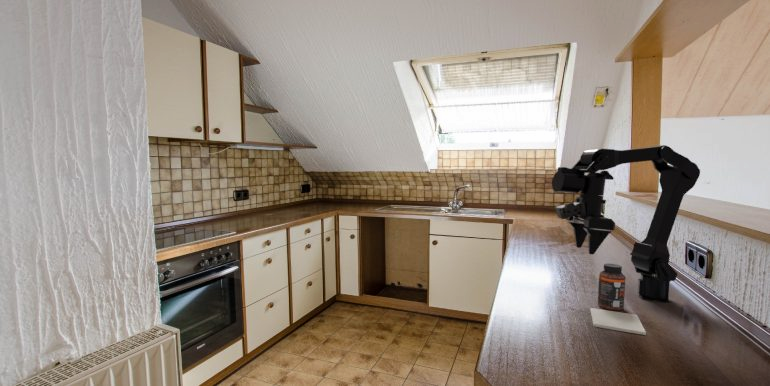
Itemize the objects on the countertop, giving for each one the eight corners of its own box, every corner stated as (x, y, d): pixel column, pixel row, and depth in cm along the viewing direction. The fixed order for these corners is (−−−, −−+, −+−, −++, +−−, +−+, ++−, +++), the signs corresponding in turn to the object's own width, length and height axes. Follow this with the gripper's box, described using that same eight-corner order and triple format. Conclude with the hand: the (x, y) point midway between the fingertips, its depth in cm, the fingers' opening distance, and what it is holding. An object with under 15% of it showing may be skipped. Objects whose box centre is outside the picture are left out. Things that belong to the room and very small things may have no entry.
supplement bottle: (624, 313, 94) (626, 269, 93) (597, 308, 97) (599, 265, 96) (623, 306, 99) (626, 264, 98) (597, 301, 102) (600, 261, 101)
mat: (636, 317, 91) (636, 314, 91) (645, 335, 81) (646, 332, 81) (590, 310, 95) (590, 307, 95) (593, 326, 85) (593, 323, 85)
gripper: (550, 190, 112) (545, 241, 113) (572, 193, 94) (564, 254, 94) (590, 194, 110) (583, 245, 111) (619, 197, 92) (611, 259, 93)
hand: (584, 250), depth 102 cm, fingers open, 9 cm apart
